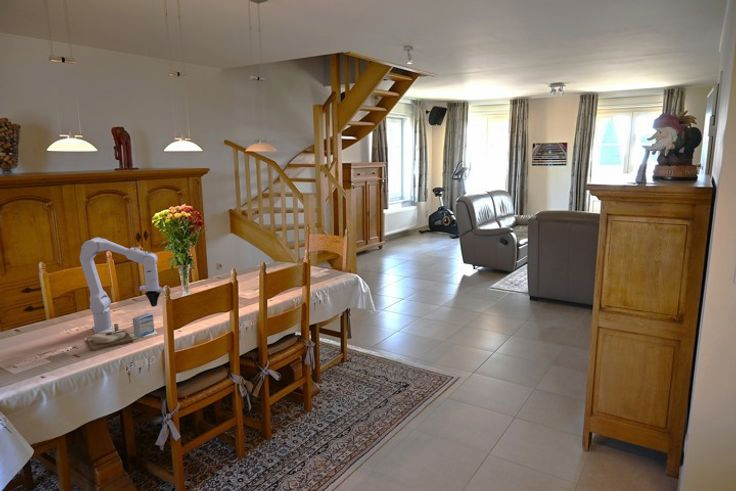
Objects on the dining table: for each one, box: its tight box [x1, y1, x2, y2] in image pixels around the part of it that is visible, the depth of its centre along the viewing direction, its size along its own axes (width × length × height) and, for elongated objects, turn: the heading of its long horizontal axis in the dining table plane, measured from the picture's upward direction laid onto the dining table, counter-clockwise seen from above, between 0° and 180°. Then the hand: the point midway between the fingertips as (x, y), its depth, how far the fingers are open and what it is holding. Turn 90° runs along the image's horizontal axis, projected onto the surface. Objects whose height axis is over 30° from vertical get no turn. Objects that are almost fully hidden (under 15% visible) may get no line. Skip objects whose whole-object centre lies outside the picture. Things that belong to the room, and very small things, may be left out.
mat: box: [129, 329, 158, 340], centre depth 229 cm, size 7×11×1 cm, turn 127°
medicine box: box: [132, 313, 155, 338], centre depth 228 cm, size 8×4×9 cm, turn 155°
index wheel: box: [92, 323, 125, 343], centre depth 220 cm, size 13×13×5 cm
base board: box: [86, 329, 134, 352], centre depth 221 cm, size 16×16×1 cm
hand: (154, 306), depth 237 cm, fingers closed
